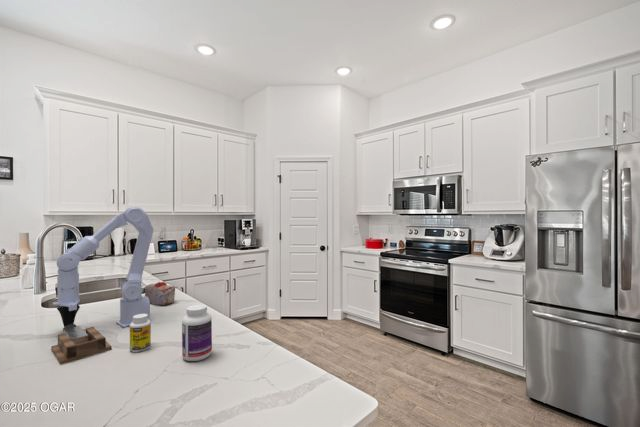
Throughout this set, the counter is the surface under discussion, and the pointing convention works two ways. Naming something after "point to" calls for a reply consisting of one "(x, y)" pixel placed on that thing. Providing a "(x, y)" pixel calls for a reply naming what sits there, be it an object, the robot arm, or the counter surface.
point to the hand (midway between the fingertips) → (68, 326)
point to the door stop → (76, 333)
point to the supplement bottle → (140, 333)
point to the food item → (160, 293)
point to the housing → (80, 346)
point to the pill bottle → (196, 333)
